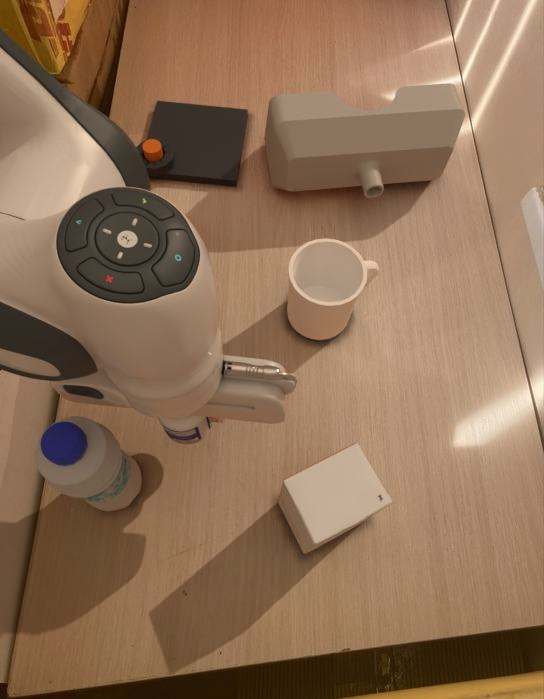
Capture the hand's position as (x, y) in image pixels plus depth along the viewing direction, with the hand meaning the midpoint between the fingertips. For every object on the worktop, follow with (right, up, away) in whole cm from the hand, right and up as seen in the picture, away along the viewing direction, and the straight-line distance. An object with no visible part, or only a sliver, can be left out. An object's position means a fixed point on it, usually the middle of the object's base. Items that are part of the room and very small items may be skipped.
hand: (184, 411), depth 55 cm
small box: (+14, -12, +5) cm, 19 cm away
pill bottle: (0, -2, +3) cm, 4 cm away
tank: (+21, +32, +25) cm, 45 cm away
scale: (-3, +37, +26) cm, 45 cm away
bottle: (-8, -9, +6) cm, 14 cm away
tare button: (-8, +34, +22) cm, 41 cm away
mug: (+16, +11, +16) cm, 25 cm away
